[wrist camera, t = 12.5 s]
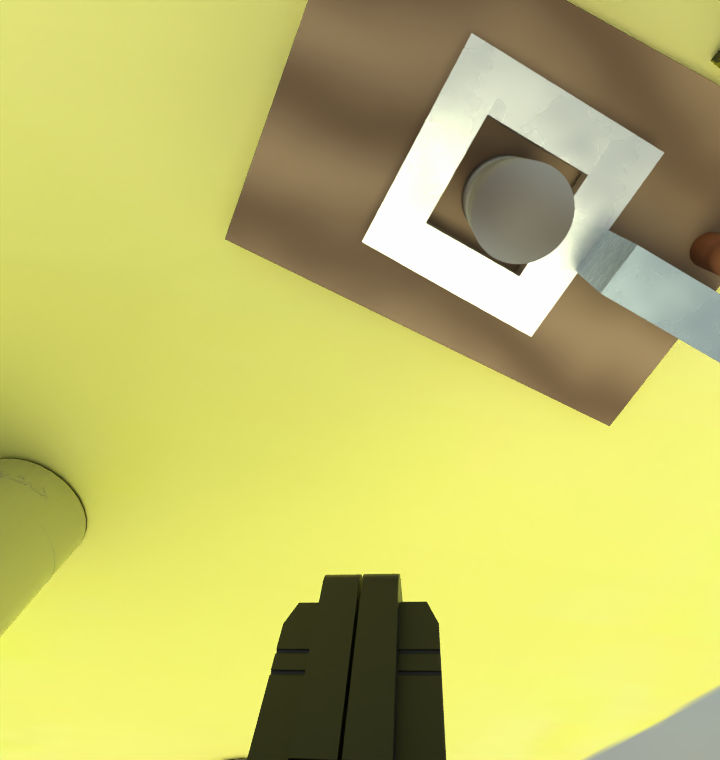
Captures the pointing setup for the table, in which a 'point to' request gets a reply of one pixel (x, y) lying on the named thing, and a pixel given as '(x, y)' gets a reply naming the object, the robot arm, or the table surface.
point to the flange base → (379, 126)
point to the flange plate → (591, 196)
